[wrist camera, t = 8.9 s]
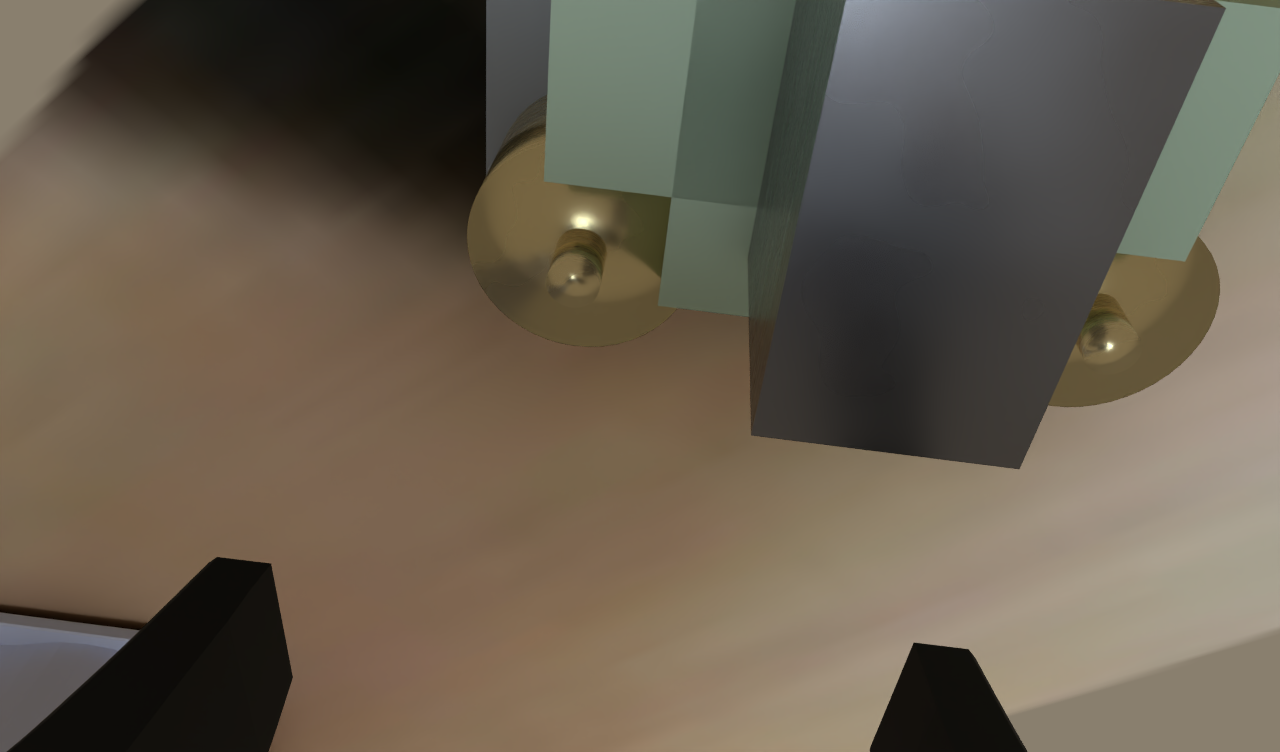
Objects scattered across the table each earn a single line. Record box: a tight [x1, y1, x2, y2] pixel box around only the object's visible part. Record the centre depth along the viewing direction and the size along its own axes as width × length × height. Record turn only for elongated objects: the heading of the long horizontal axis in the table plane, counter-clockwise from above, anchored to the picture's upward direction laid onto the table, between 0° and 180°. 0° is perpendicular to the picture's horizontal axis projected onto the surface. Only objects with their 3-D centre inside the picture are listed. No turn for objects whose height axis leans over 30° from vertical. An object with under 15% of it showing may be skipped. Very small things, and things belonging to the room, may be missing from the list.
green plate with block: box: [544, 0, 1280, 469], centre depth 11 cm, size 9×7×5 cm
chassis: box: [467, 0, 1220, 407], centre depth 14 cm, size 12×10×4 cm
